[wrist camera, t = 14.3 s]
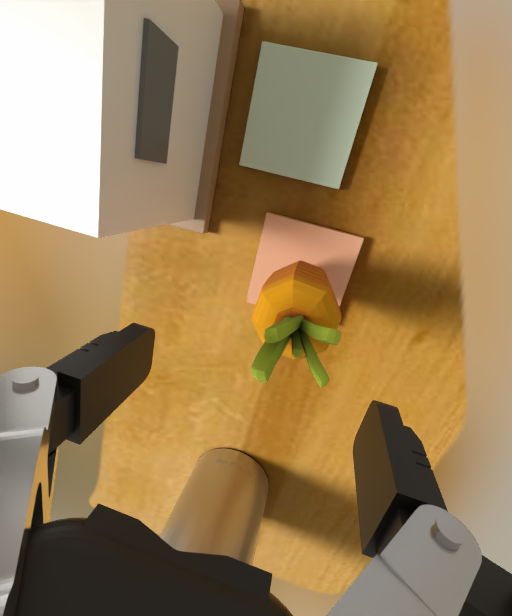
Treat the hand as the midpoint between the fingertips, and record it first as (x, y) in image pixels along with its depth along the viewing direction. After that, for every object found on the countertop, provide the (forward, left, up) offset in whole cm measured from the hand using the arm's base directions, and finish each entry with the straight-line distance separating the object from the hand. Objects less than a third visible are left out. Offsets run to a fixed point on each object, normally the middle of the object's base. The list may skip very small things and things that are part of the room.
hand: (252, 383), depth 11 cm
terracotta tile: (0, 0, -18) cm, 18 cm away
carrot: (0, 0, -17) cm, 17 cm away
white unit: (+9, +13, -18) cm, 24 cm away
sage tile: (+11, +3, -18) cm, 21 cm away
